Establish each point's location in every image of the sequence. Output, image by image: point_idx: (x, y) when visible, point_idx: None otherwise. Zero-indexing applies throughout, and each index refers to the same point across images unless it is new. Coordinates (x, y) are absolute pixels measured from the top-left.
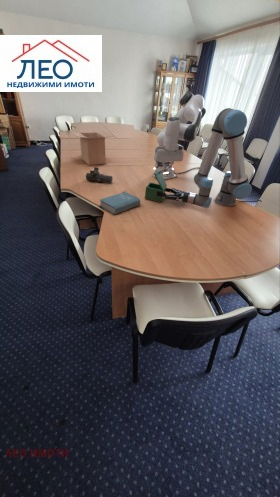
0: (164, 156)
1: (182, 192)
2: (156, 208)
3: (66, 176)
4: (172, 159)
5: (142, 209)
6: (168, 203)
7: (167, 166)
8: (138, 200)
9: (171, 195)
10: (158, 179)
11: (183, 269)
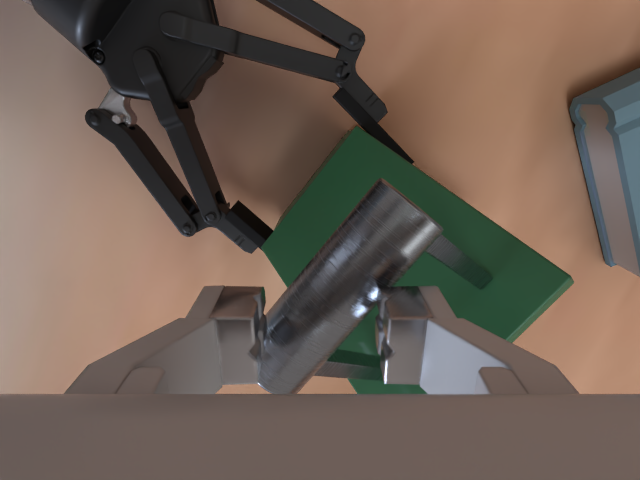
0: None
1: (111, 115)
2: (448, 11)
3: None
4: (117, 463)
5: (581, 20)
6: (290, 93)
7: (289, 372)
8: (628, 89)
9: (281, 45)
10: (448, 213)
11: None
